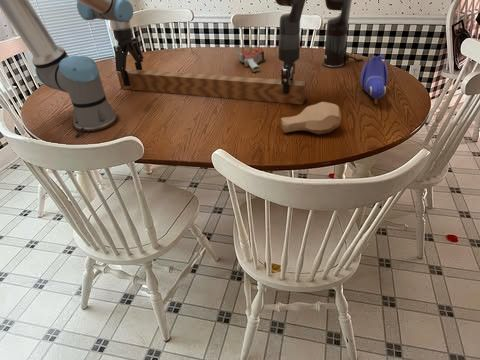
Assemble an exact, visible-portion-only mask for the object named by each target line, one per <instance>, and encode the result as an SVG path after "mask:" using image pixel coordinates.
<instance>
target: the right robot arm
mask: <svg viewBox="0 0 480 360" xmlns="http://www.w3.org/2000/svg"><path fill="white" fill-rule="evenodd" d="M306 1H307V0H275V3H276V4H277V5H278V6H281V7H290V8H291V10H290V12H288V13H287V12H286V13H284V14H281V15H280V17H279V33H278V35H279V36H278V60H279V61H281V62H283V64H282V66H281V69H280V76H281V77H280V80H281V84H283V94H288V93H289V84H290V80H294V77H295V73H296V61H298V60H299V59H300V49H301V48H300V47H301V35H300V31H301V30H300V29H301V19H302V15H303V11H304V7H305V4H306ZM324 3H325V7H326V9H327V10H330V11H340V14H339V15H337V16H335V17H332V18H331V17H330V18H329V19H327V22H326V31H325V32H326V33H325V45H324V53H323V66H324V67H327V68H340V67H343V66H344V65H345V64H346V62H349V59H353V60H354V61H356V62H361V61H363V60H364V59H363V58H356V57H354V56H350V54H348V53H347V51H348V50H347V49H348V43H347V36H348V29H349V28H348V27H349V21H350V15H351V9H352V3H353V0H324ZM285 80H287V81H285Z"/></svg>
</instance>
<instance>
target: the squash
mask: <svg viewBox="0 0 480 360" xmlns="http://www.w3.org/2000/svg"><path fill="white" fill-rule="evenodd" d="M341 118H342V113H341V109H340V106H339V105H338V104H335V103H332V102H328V101H320V102H317V103H315V104H311V105H308V106H306V107H305V108H303V110H302V111H301V112H300V113H298V114H296V115H293V116H286V117H285V116H284V117H281V118H280V124H281V130H282V131H283V133H285V134H286V133H292V132H296V131H297V132H298V131H306V132H310V133H312V134H316V135H325V134H330V133H331V132H332V131H334V130H337V129H338V128H339V127H340V124H341Z"/></svg>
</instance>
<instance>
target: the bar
mask: <svg viewBox="0 0 480 360" xmlns="http://www.w3.org/2000/svg"><path fill="white" fill-rule="evenodd" d="M126 71H127V72H128V76H129V81H130V85H131V86H124V82H123V79H122V76H121V72H120V71H116V74H117V78H118V82H119V85H120V89H122V90H132V91H142V92H155V93H167V94H177V95H178V94H179V95H189V96H200V97H212V98H222V99H223V98H224V99H234V100H245V101H246V100H247V101H258V102H268V103H281V104H292V105H304V103H305V101H306V90H307V89H306V86H307V81H306V80H295V79H293V80H290V84H289V93H288V94H283V84H281V79H280V78H279V79H278V78H277V79H276V78H265V77H264V78H262V77H261V78H260V77H250V76H249V77H247V76H234V75H222V74H221V75H218V74H207V73H206V74H203V73H192V72H191V73H189V72H176V71H161V70H160V71H159V70H145V69H142V70H136V69H134V68H133V69H131V68H126ZM285 81H287V79H285Z"/></svg>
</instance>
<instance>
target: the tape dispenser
mask: <svg viewBox="0 0 480 360" xmlns="http://www.w3.org/2000/svg"><path fill="white" fill-rule="evenodd" d="M251 52H252V53H251ZM237 60H238V61H240V63H242V64H244V66H245V67H246V68H247V67H250V69H251V72H252V73H255V72H259V71H260V69H261V66H260V65H258V64H259V63H261V62H264V61H265V51H264V49H263V48H255V49H248V50H247V49H246V50H242V51H241V50H239V51H237Z"/></svg>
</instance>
